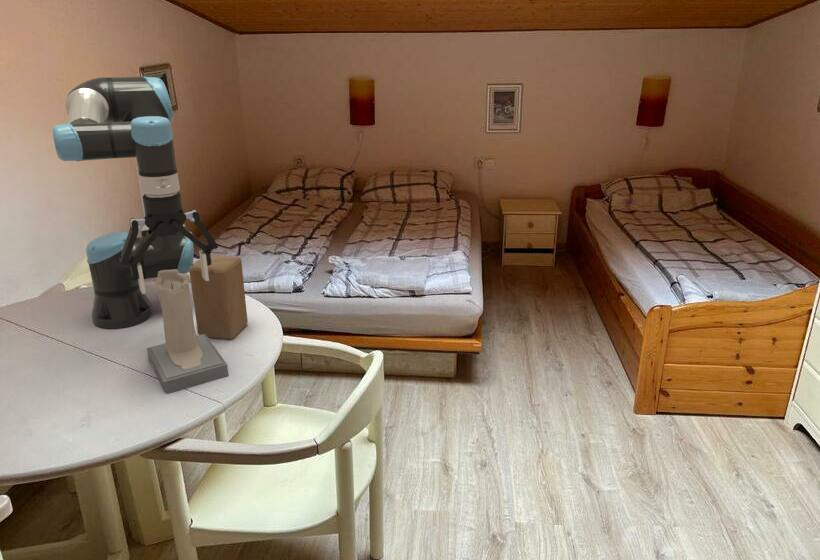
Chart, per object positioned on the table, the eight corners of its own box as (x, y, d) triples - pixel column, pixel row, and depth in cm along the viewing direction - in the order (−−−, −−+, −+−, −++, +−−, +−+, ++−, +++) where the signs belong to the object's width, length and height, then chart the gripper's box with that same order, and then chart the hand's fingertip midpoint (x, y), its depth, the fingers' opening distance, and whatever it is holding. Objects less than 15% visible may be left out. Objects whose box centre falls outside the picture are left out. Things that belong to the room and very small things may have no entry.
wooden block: (232, 341, 152) (223, 269, 144) (196, 337, 153) (186, 266, 146) (249, 324, 161) (242, 256, 153) (215, 320, 163) (207, 252, 155)
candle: (176, 372, 131) (163, 290, 124) (164, 346, 142) (151, 269, 134) (209, 364, 135) (198, 284, 127) (194, 339, 146) (184, 264, 138)
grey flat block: (148, 358, 143) (146, 347, 142) (206, 343, 150) (204, 332, 149) (165, 393, 129) (163, 381, 128) (228, 375, 136) (227, 363, 135)
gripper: (98, 205, 114) (117, 303, 123) (225, 189, 127) (235, 279, 135) (93, 196, 120) (111, 290, 128) (215, 182, 133) (225, 268, 141)
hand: (175, 285), depth 132 cm, fingers open, 13 cm apart
